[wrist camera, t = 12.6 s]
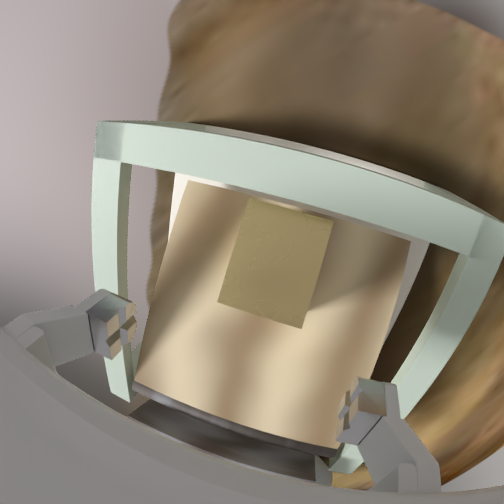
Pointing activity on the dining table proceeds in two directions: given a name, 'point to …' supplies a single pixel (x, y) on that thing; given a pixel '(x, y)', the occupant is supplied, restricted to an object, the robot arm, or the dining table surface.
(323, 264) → the trapdoor plate
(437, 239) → the frame
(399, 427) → the robot arm
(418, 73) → the dining table surface
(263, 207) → the block
